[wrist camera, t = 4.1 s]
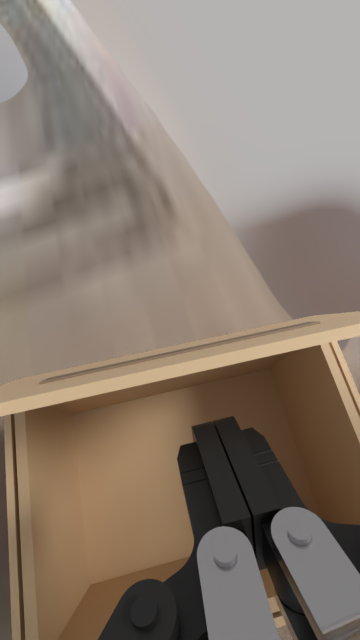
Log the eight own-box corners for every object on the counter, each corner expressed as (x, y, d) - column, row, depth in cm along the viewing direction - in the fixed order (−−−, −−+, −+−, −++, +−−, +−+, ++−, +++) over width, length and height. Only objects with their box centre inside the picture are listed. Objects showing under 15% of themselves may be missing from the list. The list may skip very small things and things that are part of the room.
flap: (312, 314, 22) (456, 299, 12) (314, 321, 22) (459, 313, 12) (18, 377, 20) (-113, 424, 10) (20, 385, 20) (-110, 441, 10)
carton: (279, 361, 32) (329, 319, 22) (338, 530, 27) (439, 578, 17) (58, 411, 30) (1, 390, 20) (77, 607, 25) (12, 715, 15)
